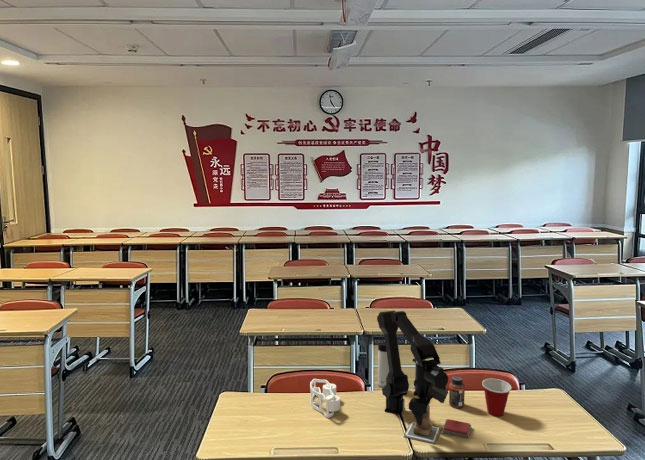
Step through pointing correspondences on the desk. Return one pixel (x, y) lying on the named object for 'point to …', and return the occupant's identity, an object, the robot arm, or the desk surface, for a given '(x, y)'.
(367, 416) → the desk surface
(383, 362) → the travel mug
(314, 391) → the white open frame block
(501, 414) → the plastic cup
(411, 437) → the marked board
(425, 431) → the stamp
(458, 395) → the supplement bottle
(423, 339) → the robot arm
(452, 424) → the ink pad
